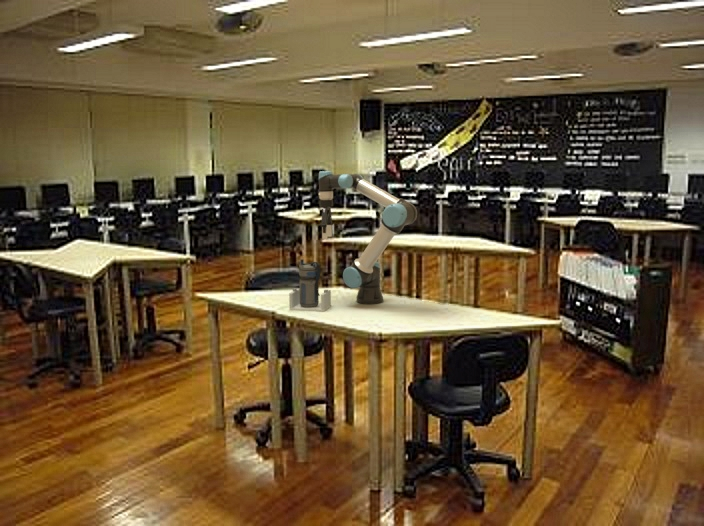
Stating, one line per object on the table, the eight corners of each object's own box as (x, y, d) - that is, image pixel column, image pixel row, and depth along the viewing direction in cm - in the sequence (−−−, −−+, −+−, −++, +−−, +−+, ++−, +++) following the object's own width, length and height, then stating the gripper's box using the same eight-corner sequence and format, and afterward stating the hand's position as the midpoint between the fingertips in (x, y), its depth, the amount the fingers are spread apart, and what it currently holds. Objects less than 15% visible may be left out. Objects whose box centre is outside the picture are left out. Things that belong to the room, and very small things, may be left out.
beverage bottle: (314, 309, 328) (313, 262, 324) (294, 306, 335) (294, 260, 332) (325, 305, 336) (325, 260, 333) (306, 303, 344) (305, 258, 340)
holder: (330, 305, 340) (330, 287, 339) (324, 311, 327) (323, 292, 325) (297, 304, 345) (297, 286, 343) (289, 309, 331) (289, 291, 330)
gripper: (323, 198, 355) (324, 235, 358) (314, 200, 331) (316, 240, 334) (336, 198, 354) (337, 235, 357) (328, 200, 330) (329, 239, 333)
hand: (327, 237), depth 346 cm, fingers open, 13 cm apart
